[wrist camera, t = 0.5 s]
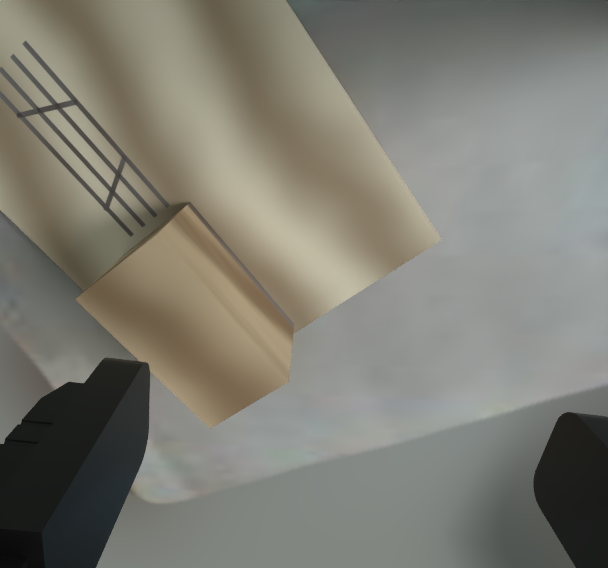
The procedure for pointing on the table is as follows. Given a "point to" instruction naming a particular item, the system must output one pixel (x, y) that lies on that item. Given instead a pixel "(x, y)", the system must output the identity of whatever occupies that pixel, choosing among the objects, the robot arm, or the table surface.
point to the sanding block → (195, 318)
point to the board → (196, 144)
